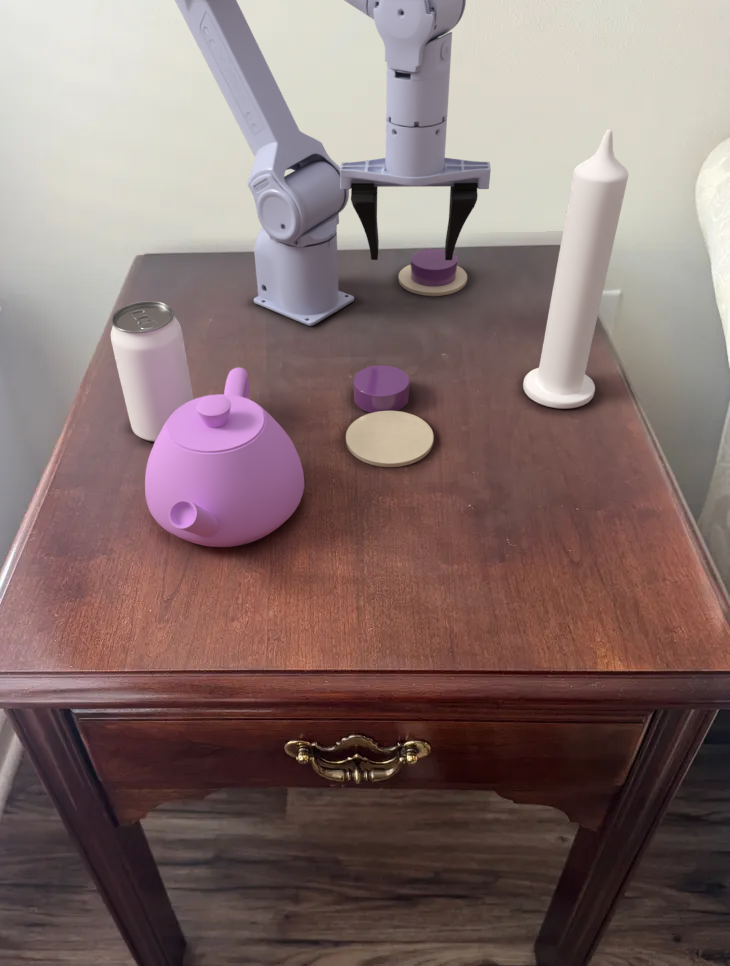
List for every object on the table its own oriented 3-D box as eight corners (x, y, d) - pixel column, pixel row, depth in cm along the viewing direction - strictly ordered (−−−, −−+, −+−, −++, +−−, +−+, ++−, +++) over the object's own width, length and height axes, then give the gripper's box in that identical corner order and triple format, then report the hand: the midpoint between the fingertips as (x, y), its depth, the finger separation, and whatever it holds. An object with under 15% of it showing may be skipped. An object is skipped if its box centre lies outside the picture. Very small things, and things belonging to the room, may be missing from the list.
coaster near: (327, 444, 82) (327, 440, 81) (382, 404, 86) (382, 400, 86) (397, 479, 78) (397, 475, 77) (450, 435, 82) (451, 431, 82)
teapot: (114, 583, 69) (84, 482, 62) (181, 436, 83) (164, 340, 76) (280, 599, 67) (270, 497, 60) (320, 446, 82) (316, 348, 74)
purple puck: (342, 400, 87) (342, 382, 85) (376, 377, 90) (377, 358, 88) (385, 421, 84) (386, 402, 83) (419, 395, 87) (420, 377, 86)
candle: (591, 414, 84) (654, 146, 67) (519, 403, 85) (562, 140, 68) (595, 376, 89) (654, 119, 72) (526, 367, 90) (568, 113, 73)
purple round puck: (404, 282, 104) (405, 265, 102) (417, 262, 108) (418, 246, 106) (449, 289, 102) (450, 272, 101) (461, 268, 106) (462, 252, 104)
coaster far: (384, 282, 105) (384, 279, 105) (425, 258, 109) (425, 254, 109) (440, 303, 101) (440, 299, 101) (480, 276, 105) (480, 272, 105)
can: (144, 452, 82) (119, 341, 74) (123, 418, 86) (97, 309, 78) (206, 431, 84) (189, 322, 76) (183, 399, 88) (164, 292, 80)
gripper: (492, 102, 82) (479, 239, 92) (342, 104, 83) (344, 238, 93) (496, 127, 77) (483, 269, 86) (336, 129, 78) (340, 268, 88)
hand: (411, 255), depth 89 cm, fingers open, 7 cm apart
